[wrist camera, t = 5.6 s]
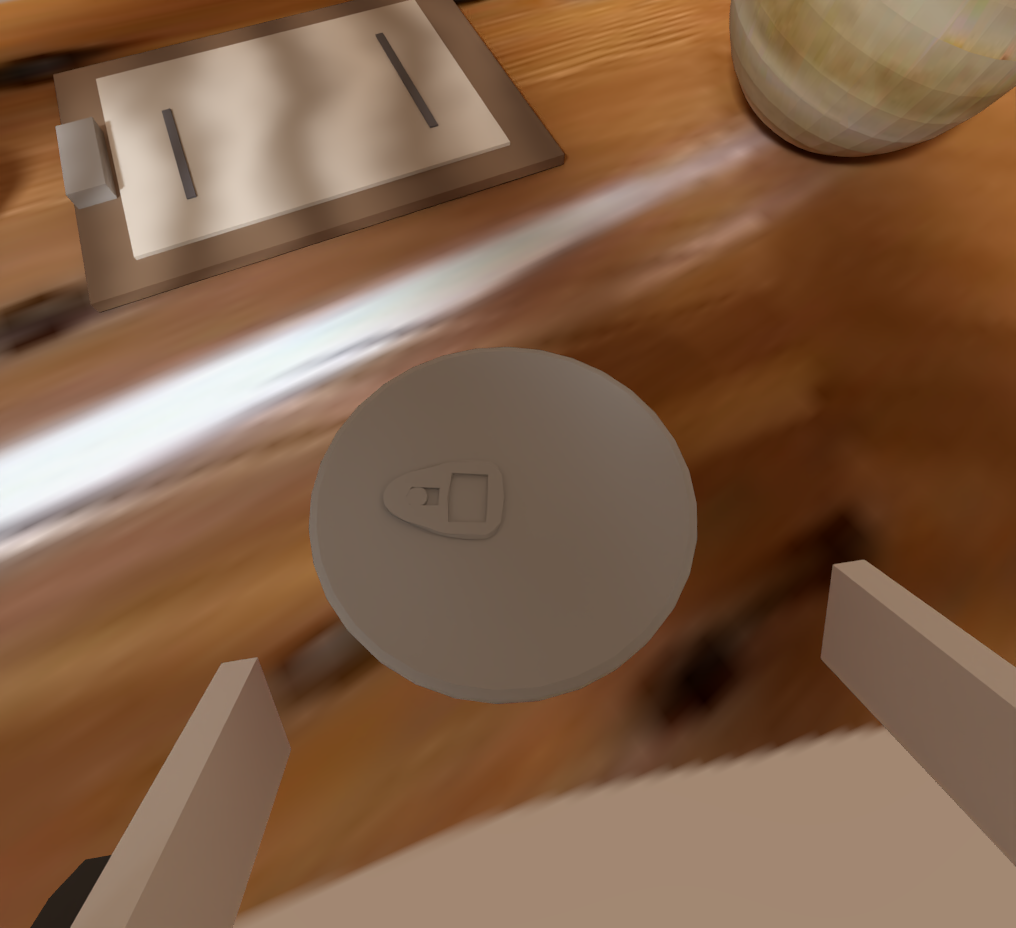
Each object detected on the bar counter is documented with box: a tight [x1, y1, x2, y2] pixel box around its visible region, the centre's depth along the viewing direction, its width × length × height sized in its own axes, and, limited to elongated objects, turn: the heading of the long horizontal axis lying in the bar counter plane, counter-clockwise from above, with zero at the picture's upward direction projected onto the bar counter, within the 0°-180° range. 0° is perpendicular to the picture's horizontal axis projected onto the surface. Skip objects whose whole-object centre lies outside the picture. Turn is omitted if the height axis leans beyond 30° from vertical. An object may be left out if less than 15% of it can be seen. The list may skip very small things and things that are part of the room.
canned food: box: [309, 347, 697, 704], centre depth 16 cm, size 8×8×11 cm
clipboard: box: [53, 0, 565, 312], centre depth 31 cm, size 26×20×2 cm
